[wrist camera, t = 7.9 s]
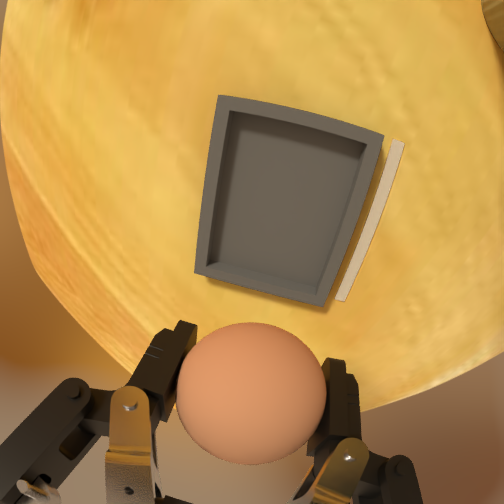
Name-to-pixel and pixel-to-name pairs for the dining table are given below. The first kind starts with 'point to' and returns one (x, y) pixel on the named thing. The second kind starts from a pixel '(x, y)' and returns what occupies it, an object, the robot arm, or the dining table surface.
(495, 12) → the potted cactus
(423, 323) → the dining table surface
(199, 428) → the ball
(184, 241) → the dining table surface
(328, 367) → the robot arm
